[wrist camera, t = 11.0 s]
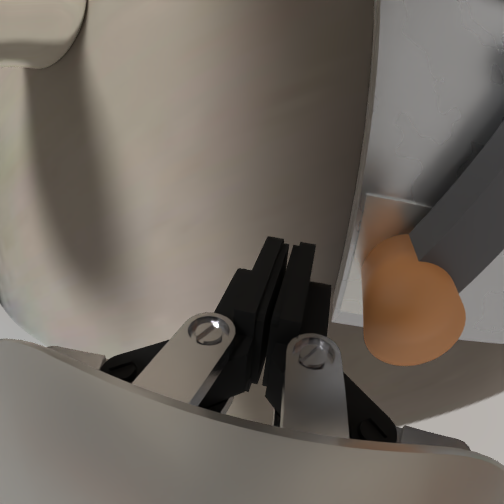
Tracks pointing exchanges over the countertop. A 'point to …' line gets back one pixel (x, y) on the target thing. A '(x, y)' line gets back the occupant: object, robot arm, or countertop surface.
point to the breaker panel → (425, 137)
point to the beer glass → (38, 31)
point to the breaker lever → (435, 266)
